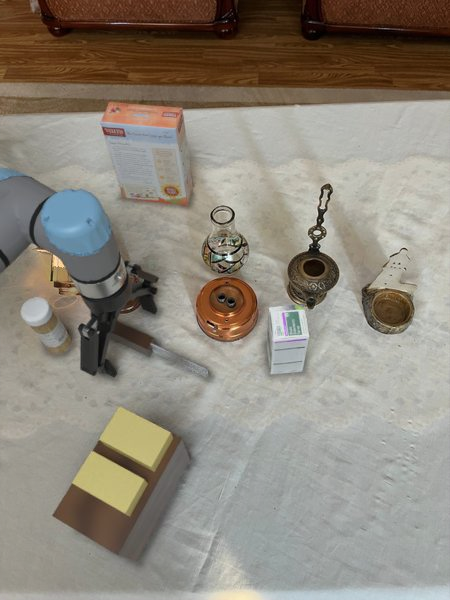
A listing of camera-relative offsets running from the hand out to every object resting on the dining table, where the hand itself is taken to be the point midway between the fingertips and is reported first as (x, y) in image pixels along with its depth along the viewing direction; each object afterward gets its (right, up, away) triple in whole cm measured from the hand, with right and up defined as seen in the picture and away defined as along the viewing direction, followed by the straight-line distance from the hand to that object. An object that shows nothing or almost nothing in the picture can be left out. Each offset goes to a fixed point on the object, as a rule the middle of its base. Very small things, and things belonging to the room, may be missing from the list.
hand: (130, 341), depth 94 cm
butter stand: (+3, -22, -13) cm, 26 cm away
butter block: (+5, -12, -23) cm, 26 cm away
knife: (+5, -2, -1) cm, 5 cm away
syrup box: (+27, -3, -2) cm, 27 cm away
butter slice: (+2, -17, -25) cm, 30 cm away
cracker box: (+3, +30, +17) cm, 35 cm away
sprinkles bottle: (-13, -1, +1) cm, 13 cm away
